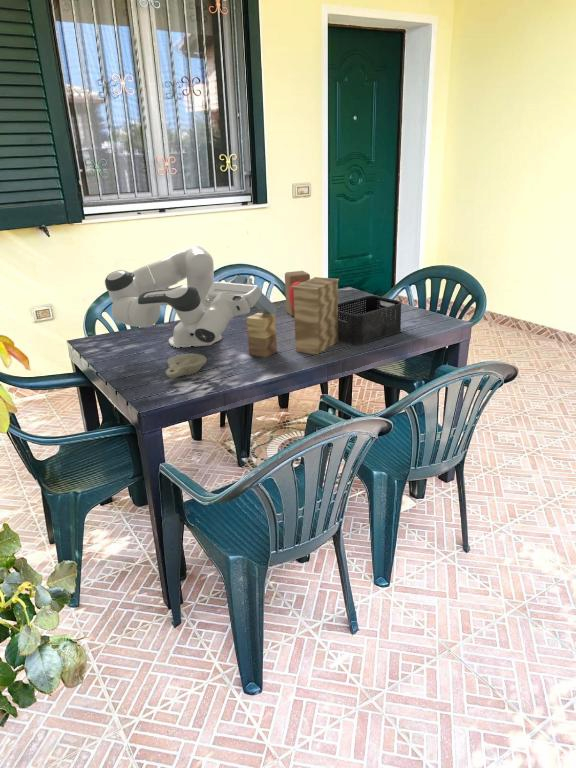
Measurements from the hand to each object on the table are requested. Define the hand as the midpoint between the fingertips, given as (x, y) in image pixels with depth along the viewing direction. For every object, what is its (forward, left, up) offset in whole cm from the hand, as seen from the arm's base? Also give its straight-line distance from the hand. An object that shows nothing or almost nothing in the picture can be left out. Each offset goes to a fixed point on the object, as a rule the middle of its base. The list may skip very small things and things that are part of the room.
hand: (244, 278), depth 209 cm
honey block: (+7, +6, -24) cm, 26 cm away
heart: (+38, +38, -32) cm, 62 cm away
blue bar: (+5, +4, -10) cm, 12 cm away
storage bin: (+54, +11, -32) cm, 64 cm away
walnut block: (+8, +6, -32) cm, 33 cm away
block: (+41, +56, -32) cm, 76 cm away
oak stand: (+30, +5, -32) cm, 44 cm away
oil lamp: (-26, -4, -32) cm, 42 cm away
